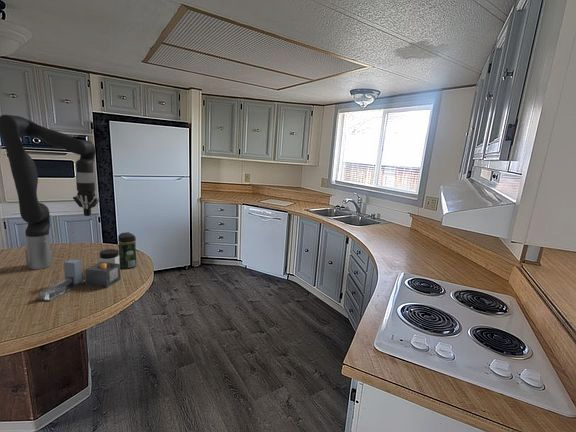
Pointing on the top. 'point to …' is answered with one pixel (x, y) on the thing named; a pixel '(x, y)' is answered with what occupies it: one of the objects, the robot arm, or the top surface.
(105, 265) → the orange peg
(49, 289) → the rail
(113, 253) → the jar
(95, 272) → the block with square hole
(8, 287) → the top surface
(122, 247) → the coffee jar
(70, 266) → the block
